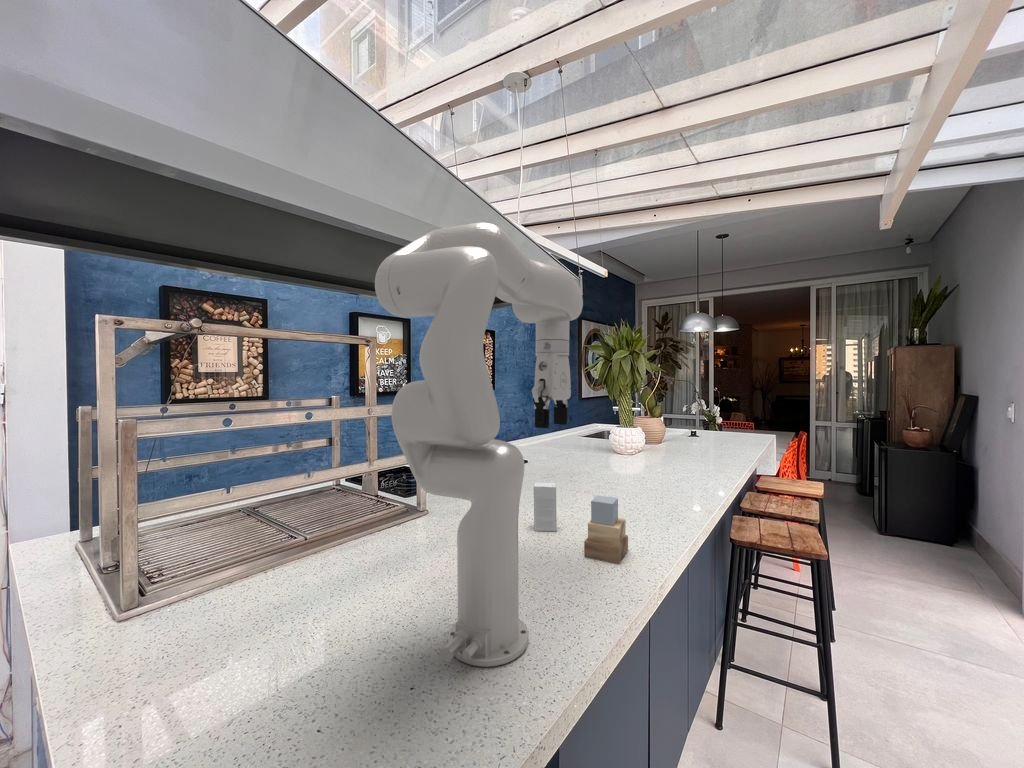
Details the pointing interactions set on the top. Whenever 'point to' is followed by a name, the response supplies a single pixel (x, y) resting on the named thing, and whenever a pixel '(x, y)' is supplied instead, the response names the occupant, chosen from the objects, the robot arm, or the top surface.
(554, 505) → the skincare box
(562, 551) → the top surface
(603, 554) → the tower base
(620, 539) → the tower top
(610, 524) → the cube
